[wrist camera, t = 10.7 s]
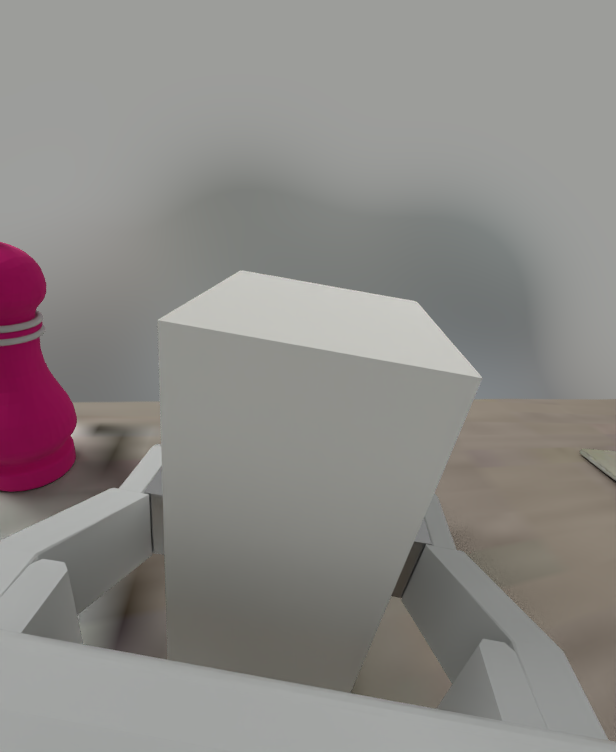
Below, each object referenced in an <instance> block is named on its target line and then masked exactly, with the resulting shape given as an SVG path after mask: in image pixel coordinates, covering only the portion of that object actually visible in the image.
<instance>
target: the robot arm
mask: <svg viewBox="0 0 616 752" xmlns="http://www.w3.org/2000/svg"><path fill="white" fill-rule="evenodd" d="M152 553H157V554H163V555H164V522H163V488H162V454H161V445H160V444H156V445H154V446H153V447H151V449H150V450H149V451H148V452H147V454H146V455H145V456H144V457H143V459H142V460H141V461H140V462H139V464H138V465H137V466H136V467H135V469H134V470H133V471H132V472H131V474H130V475H129V476H128V477H127V479H126V480H125V481H124V482H123V484H122V485H121V486H120V487H119V489H117V488H110V489H108V490H106V491H104V492H102V493H100V494H98V495H95V496H93V497H91V498H89V499H87V500H85V501H83V502H81V503H78V504H76V505H74V506H72V507H70V508H68V509H66V510H63V511H61V512H59V513H57V514H55V515H53V516H51V517H49V518H46V519H44V520H42V521H40V522H38V523H36V524H34V525H31V526H29V527H27V528H25V529H23V530H21V531H19V532H16V533H14V534H12V535H10V536H8V537H6V538H4V539H2V540H0V752H616V742H615V741H610V740H608V738H607V736H606V734H605V732H604V730H603V728H602V727H601V725H600V723H599V721H598V719H597V717H596V715H595V713H594V711H593V709H592V707H591V705H590V703H589V701H588V699H587V697H586V695H585V693H584V691H583V689H582V687H581V685H580V683H579V681H578V679H577V677H576V675H575V673H574V671H573V670H572V668H571V666H570V664H569V662H568V660H567V658H566V656H565V654H564V652H563V651H562V650H561V649H560V648H559V647H558V646H557V645H556V644H555V643H554V642H553V641H552V640H551V639H550V638H549V637H548V636H547V635H546V634H545V633H544V632H543V631H542V630H541V629H540V628H539V627H538V626H537V625H536V624H535V623H534V622H533V621H532V620H531V619H530V618H529V617H528V616H527V615H526V614H525V613H524V612H523V611H522V610H521V609H520V608H519V607H518V606H517V605H516V604H515V603H514V602H513V601H512V600H511V599H510V598H509V597H508V596H507V595H506V594H505V593H504V592H503V591H502V590H501V589H500V588H499V587H498V586H497V585H496V584H495V583H494V582H493V581H492V580H491V579H490V578H489V577H488V576H487V575H486V574H485V573H484V572H483V571H482V570H481V569H480V568H479V567H478V566H477V565H476V564H475V563H474V562H473V561H472V560H471V559H470V558H469V557H468V556H467V555H466V554H465V553H464V552H463V551H460V550H457V549H456V547H455V544H454V541H453V538H452V535H451V533H450V530H449V527H448V524H447V521H446V518H445V516H444V513H443V510H442V507H441V504H440V502H439V499H438V497H437V496H436V495H435V494H434V495H433V497H432V500H431V502H430V505H429V507H428V509H427V512H426V514H425V516H424V519H423V521H422V524H421V526H420V528H419V531H418V533H417V536H416V538H415V540H414V543H413V545H412V547H411V550H410V552H409V555H408V557H407V559H406V562H405V564H404V567H403V569H402V571H401V574H400V576H399V578H398V581H397V583H396V586H395V588H394V590H393V593H392V595H391V596H394V597H399V598H402V599H401V600H402V602H403V604H404V605H405V607H406V609H407V610H408V612H409V614H410V615H411V617H412V618H413V620H414V622H415V623H416V625H417V627H418V628H419V630H420V632H421V633H422V635H423V637H424V638H425V640H426V641H427V643H428V645H429V646H430V648H431V650H432V651H433V653H434V655H435V656H436V658H437V659H438V661H439V663H440V664H441V666H442V668H443V669H444V671H445V673H446V674H447V676H448V677H449V679H450V681H451V682H452V686H451V687H450V689H449V690H448V692H447V693H446V695H445V696H444V698H443V699H442V701H441V702H440V704H439V705H438V707H437V708H436V709H434V708H429V707H424V706H418V705H413V704H407V703H402V702H396V701H391V700H385V699H380V698H374V697H369V696H364V695H358V694H353V693H347V692H342V691H336V690H331V689H325V688H320V687H315V686H309V685H304V684H298V683H293V682H287V681H282V680H276V679H271V678H265V677H260V676H254V675H249V674H243V673H238V672H232V671H227V670H221V669H216V668H210V667H205V666H199V665H194V664H188V663H183V662H177V661H172V660H166V659H161V658H155V657H150V656H144V655H139V654H133V653H128V652H122V651H117V650H111V649H106V648H100V647H95V646H89V645H84V644H83V641H82V636H81V631H80V627H79V622H78V617H77V615H78V614H79V613H80V612H82V611H83V610H84V609H85V608H87V607H88V606H89V605H90V604H92V603H93V602H94V601H95V600H97V599H98V598H99V597H100V596H102V595H103V594H104V593H105V592H107V591H108V590H109V589H110V588H112V587H113V586H114V585H115V584H117V583H118V582H119V581H120V580H122V579H123V578H124V577H125V576H127V575H128V574H129V573H130V572H132V571H133V570H134V569H135V568H137V567H138V566H139V565H140V564H142V563H143V562H144V561H145V560H147V559H148V558H149V557H150V556H152Z"/></svg>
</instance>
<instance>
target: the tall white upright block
mask: <svg viewBox="0 0 616 752" xmlns="http://www.w3.org/2000/svg"><path fill="white" fill-rule="evenodd" d="M158 352H159V387H160V421H161V454H162V488H163V522H164V556H165V590H166V624H167V658H168V660H172V661H177V662H183V663H188V664H194V665H199V666H205V667H210V668H216V669H221V670H227V671H232V672H238V673H243V674H249V675H254V676H260V677H265V678H271V679H276V680H282V681H287V682H293V683H298V684H304V685H309V686H315V687H320V688H325V689H331V690H336V691H342V692H347V693H351V690H352V688H353V686H354V683H355V681H356V678H357V676H358V674H359V671H360V669H361V667H362V664H363V662H364V659H365V657H366V655H367V652H368V650H369V648H370V645H371V643H372V640H373V638H374V636H375V633H376V631H377V628H378V626H379V624H380V621H381V619H382V617H383V614H384V612H385V609H386V607H387V605H388V602H389V600H390V597H391V595H392V593H393V590H394V588H395V586H396V583H397V581H398V578H399V576H400V574H401V571H402V569H403V567H404V564H405V562H406V559H407V557H408V555H409V552H410V550H411V547H412V545H413V543H414V540H415V538H416V536H417V533H418V531H419V528H420V526H421V524H422V521H423V519H424V516H425V514H426V512H427V509H428V507H429V505H430V502H431V500H432V497H433V495H434V493H435V490H436V488H437V485H438V483H439V481H440V478H441V476H442V474H443V471H444V469H445V466H446V464H447V462H448V459H449V457H450V455H451V452H452V450H453V447H454V445H455V443H456V440H457V438H458V435H459V433H460V431H461V428H462V426H463V424H464V421H465V419H466V416H467V414H468V412H469V409H470V407H471V404H472V402H473V400H474V397H475V395H476V393H477V390H478V388H479V385H480V383H481V380H482V377H481V376H480V375H479V373H478V372H477V371H476V370H475V369H474V368H473V367H472V365H471V364H470V363H469V362H468V361H467V360H466V359H465V357H464V356H463V355H462V354H461V353H460V351H459V350H458V349H457V348H456V347H455V346H454V344H452V342H451V341H450V340H449V339H448V337H447V336H446V335H445V334H444V333H443V332H442V330H441V329H440V328H439V327H438V326H437V325H436V323H435V322H434V321H433V320H432V319H431V318H430V317H429V315H428V314H427V313H426V312H425V311H424V310H423V308H422V307H421V306H420V305H419V304H418V303H417V302H416V301H411V300H405V299H400V298H394V297H388V296H383V295H377V294H371V293H365V292H360V291H355V290H349V289H343V288H337V287H332V286H326V285H320V284H315V283H310V282H304V281H298V280H292V279H287V278H281V277H275V276H270V275H265V274H259V273H253V272H248V271H242V270H241V271H239V272H237V273H236V274H234V275H232V276H231V277H229V278H227V279H226V280H224V281H222V282H221V283H219V284H217V285H216V286H214V287H212V288H210V289H209V290H207V291H206V292H204V293H202V294H200V295H199V296H197V297H195V298H194V299H192V300H190V301H189V302H187V303H185V304H184V305H182V306H180V307H179V308H177V309H175V310H174V311H172V312H170V313H169V314H167V315H165V316H164V317H162V318H160V319H158Z"/></svg>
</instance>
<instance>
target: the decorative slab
mask: <svg viewBox="0 0 616 752" xmlns="http://www.w3.org/2000/svg"><path fill="white" fill-rule="evenodd" d="M580 454H581V455H582V456H584V457H585V458H587V459H588V460H589V461H590V462H591V463H593V464H594V465H595V466H597V467H598V468H599V469H600V470H602V471H603V472H604V473H605V474H607V475H608V476H609V477H611V478H612V479H614V480H615V481H616V451H606V450H594V449H581V450H580Z"/></svg>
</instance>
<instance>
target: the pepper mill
mask: <svg viewBox="0 0 616 752" xmlns="http://www.w3.org/2000/svg"><path fill="white" fill-rule="evenodd" d="M45 294H46V282H45V278H44V275H43V273H42V271H41V268H40V267H39V265H38V264H37V263H36V262H35V261H34V259H33V258H31V257H30V256H29V255H28V254H27V253H25V252H24V251H22V250H20V249H18V248H16V247H14V246H11V245H9V244H6V243H2V242H0V490H1V491H9V492H14V491H26V490H30V489H34V488H38V487H42V486H44V485H46V484H49V483H51V482H53V481H55V480H57V479H58V478H60V477H62V476H63V475H64V474H65V473H66V472H67V471H68V470H69V469H70V468H71V467H72V465H73V464H74V462H75V459H76V454H75V448H74V442H73V439H72V437H71V434H72V433H73V431H74V429H75V427H76V423H77V417H76V413H75V409H74V406H73V403H72V402H71V400H70V398H69V396H68V395H67V393H66V392H65V391H64V390H63V388H62V387H61V386H60V384H59V383H58V382H57V381H56V379H55V378H54V377H53V375H52V374H51V372H50V371H49V369H48V367H47V365H46V363H45V361H44V358H43V355H42V352H41V349H40V339H39V337H40V336H41V335H42V334H44V332H45V327H44V325H43V324H42V320H43V315H42V314H41V313H40V312H39V311H37V310H36V308H37V307H38V305H39V304H40V303H41V302H42V301H43V299H44V297H45Z"/></svg>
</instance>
